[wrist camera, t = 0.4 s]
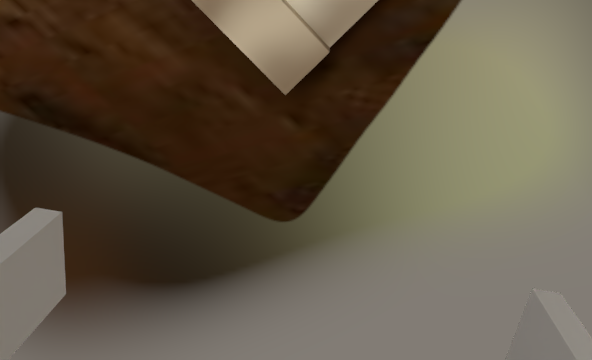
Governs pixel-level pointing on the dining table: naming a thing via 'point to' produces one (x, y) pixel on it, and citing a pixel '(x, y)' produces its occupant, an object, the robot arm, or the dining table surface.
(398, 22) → the dining table surface
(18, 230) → the robot arm
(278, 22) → the slot board
